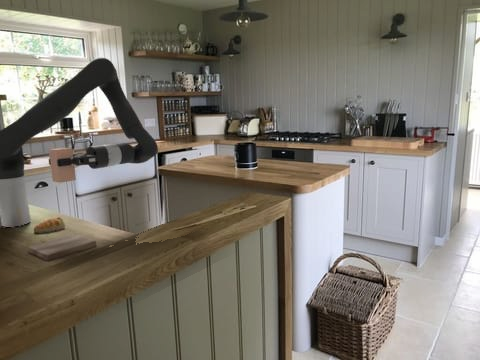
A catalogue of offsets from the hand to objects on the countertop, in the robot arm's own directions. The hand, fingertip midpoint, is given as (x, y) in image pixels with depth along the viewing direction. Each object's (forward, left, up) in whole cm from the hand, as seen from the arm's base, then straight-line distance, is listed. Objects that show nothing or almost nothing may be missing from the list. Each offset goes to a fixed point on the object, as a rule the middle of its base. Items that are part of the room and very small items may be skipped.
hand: (53, 162), depth 123 cm
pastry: (-13, +2, -24) cm, 27 cm away
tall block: (0, +3, -6) cm, 7 cm away
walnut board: (+11, -5, -24) cm, 27 cm away
